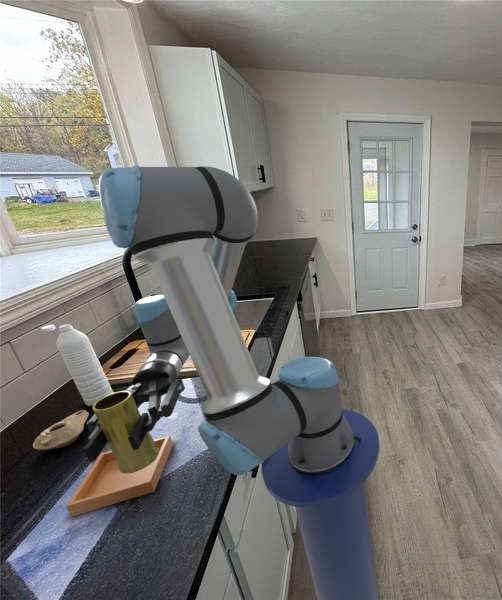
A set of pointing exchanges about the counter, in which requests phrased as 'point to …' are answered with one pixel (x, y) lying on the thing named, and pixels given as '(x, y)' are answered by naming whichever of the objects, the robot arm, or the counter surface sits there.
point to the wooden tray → (117, 481)
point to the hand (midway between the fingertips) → (111, 449)
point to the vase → (124, 431)
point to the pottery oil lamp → (62, 432)
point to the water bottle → (82, 363)
